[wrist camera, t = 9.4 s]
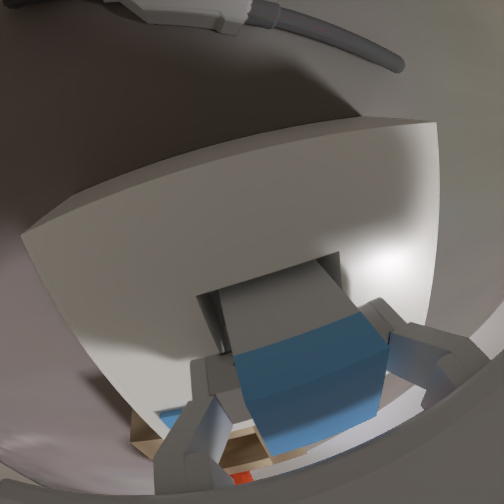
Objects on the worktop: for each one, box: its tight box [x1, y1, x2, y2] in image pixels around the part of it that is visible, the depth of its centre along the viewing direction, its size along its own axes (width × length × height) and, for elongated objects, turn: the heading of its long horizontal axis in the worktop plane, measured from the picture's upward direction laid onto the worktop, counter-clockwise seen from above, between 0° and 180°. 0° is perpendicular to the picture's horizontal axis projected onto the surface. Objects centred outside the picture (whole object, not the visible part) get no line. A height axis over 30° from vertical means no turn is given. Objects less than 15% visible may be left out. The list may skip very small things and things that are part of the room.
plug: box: [218, 259, 390, 456], centre depth 10 cm, size 4×4×7 cm
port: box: [20, 116, 439, 440], centre depth 12 cm, size 14×12×5 cm
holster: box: [130, 408, 306, 475], centre depth 17 cm, size 10×8×4 cm
